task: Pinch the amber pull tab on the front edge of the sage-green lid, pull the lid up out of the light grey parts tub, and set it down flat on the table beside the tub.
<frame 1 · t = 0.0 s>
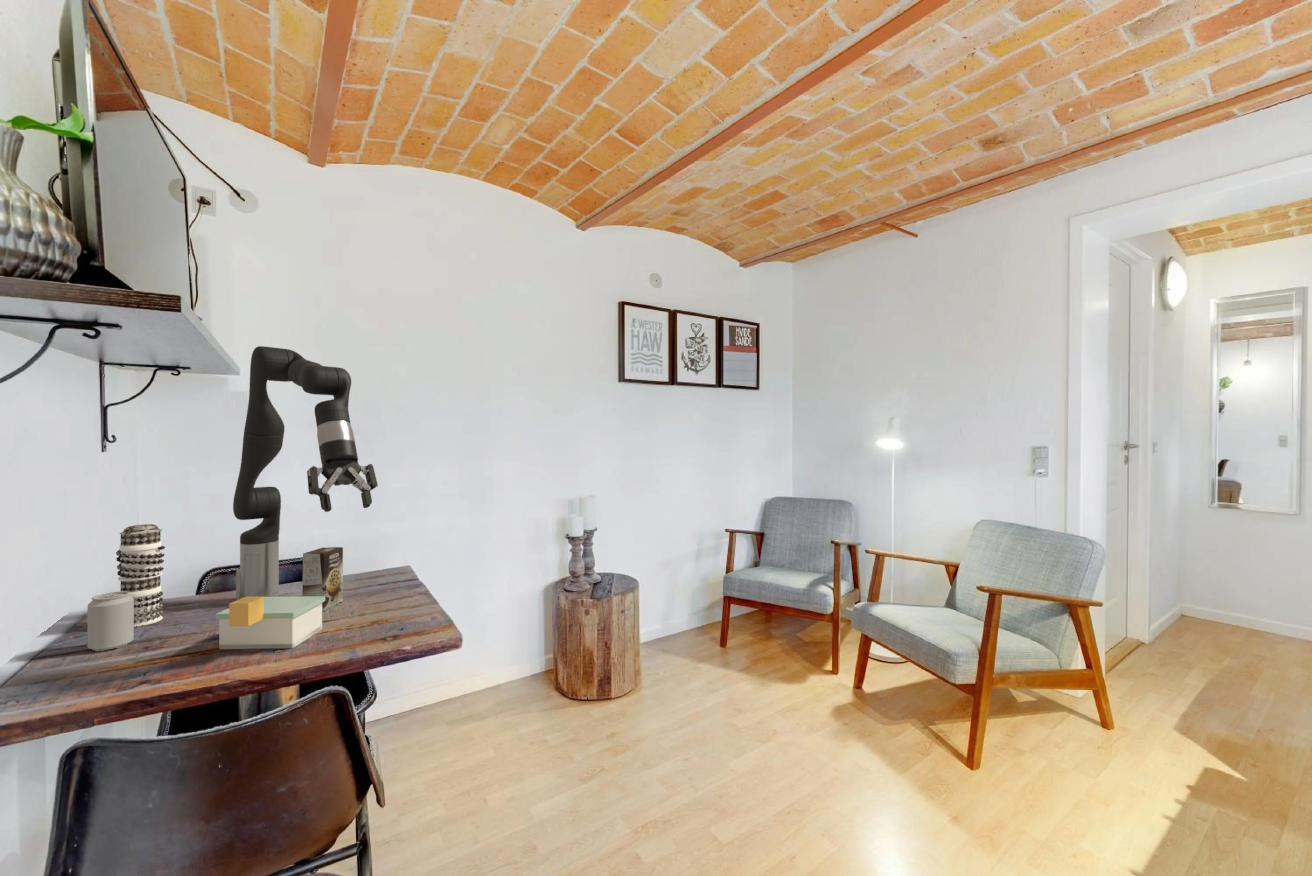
hand: (348, 509, 126), 31 cm above the table, tool tilted 20°, fingers open, 8 cm apart
coffee box: (323, 607, 154), on the table
tub: (273, 639, 129), on the table
can: (111, 647, 124), on the table
decorative candle: (140, 622, 141), on the table
lid: (273, 609, 129), point 7 cm above the table, touching tub
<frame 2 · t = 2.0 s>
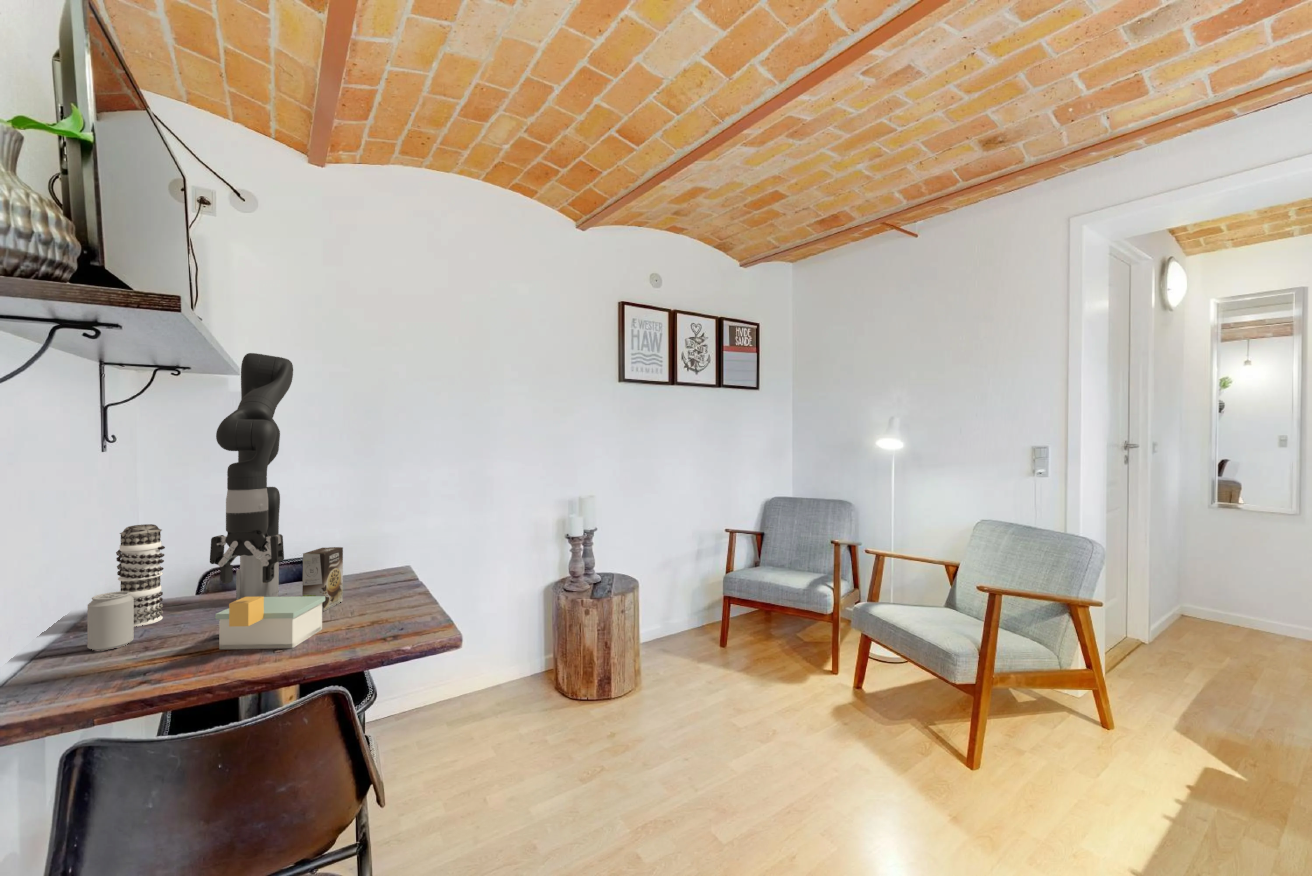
hand: (247, 582, 120), 16 cm above the table, tool pointing down, fingers open, 8 cm apart
nothing on the table moved.
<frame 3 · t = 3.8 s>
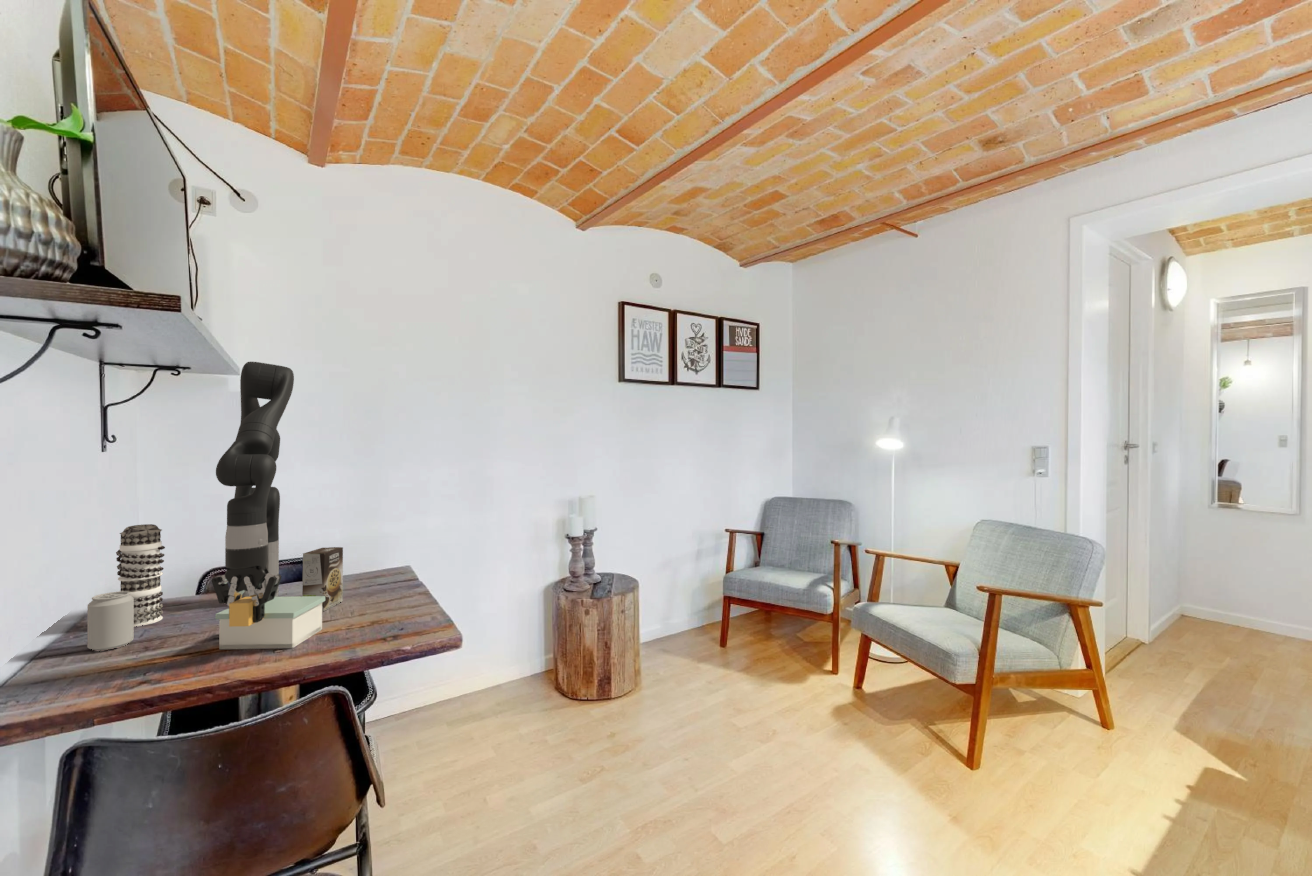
hand: (246, 621, 120), 7 cm above the table, tool pointing down, fingers closed on lid, 4 cm apart
lid: (273, 609, 129), point 7 cm above the table, touching gripper, tub
everything else where it was.
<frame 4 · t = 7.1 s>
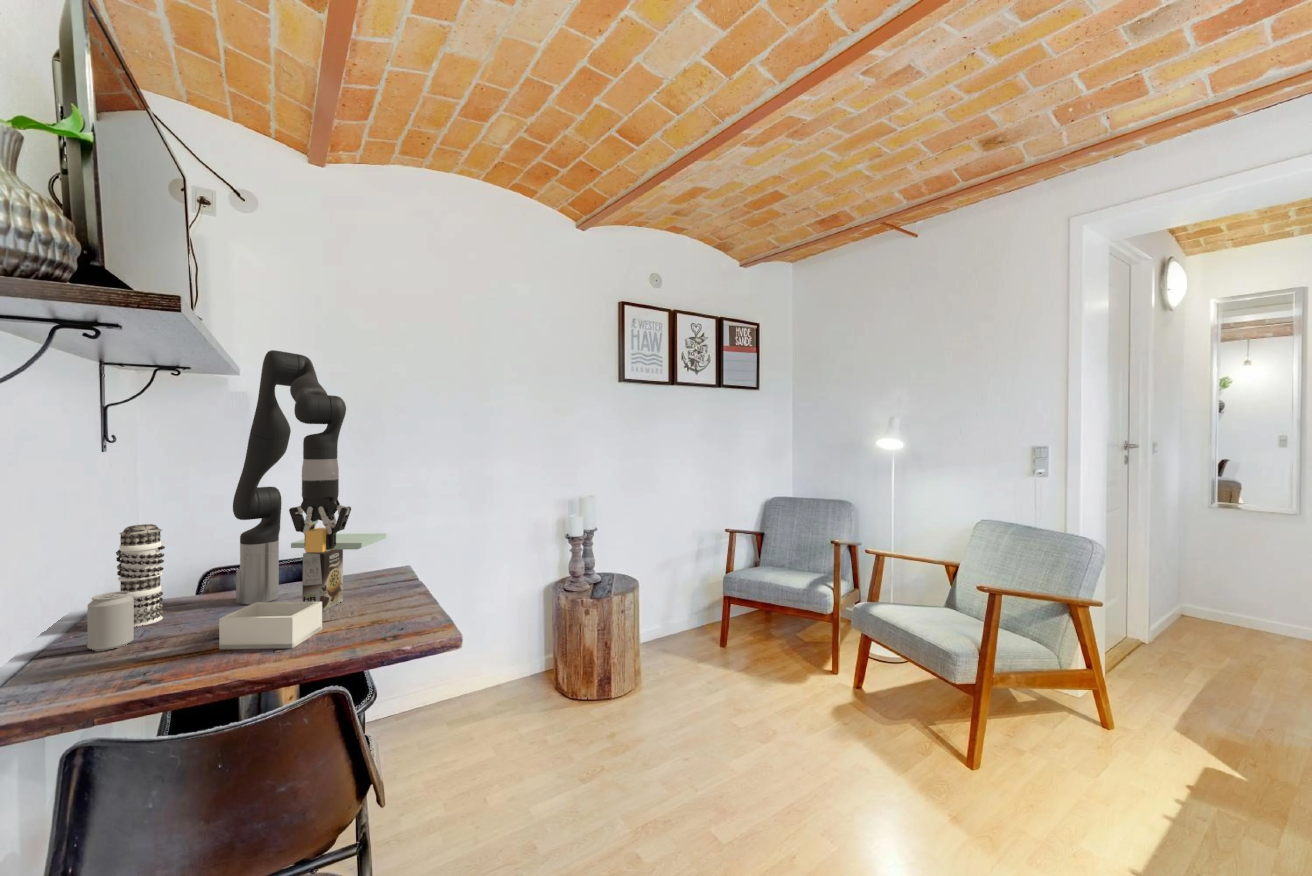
hand: (320, 548, 130), 21 cm above the table, tool pointing down, fingers closed on lid, 4 cm apart
lid: (340, 542, 139), point 21 cm above the table, touching gripper
everything else where it was.
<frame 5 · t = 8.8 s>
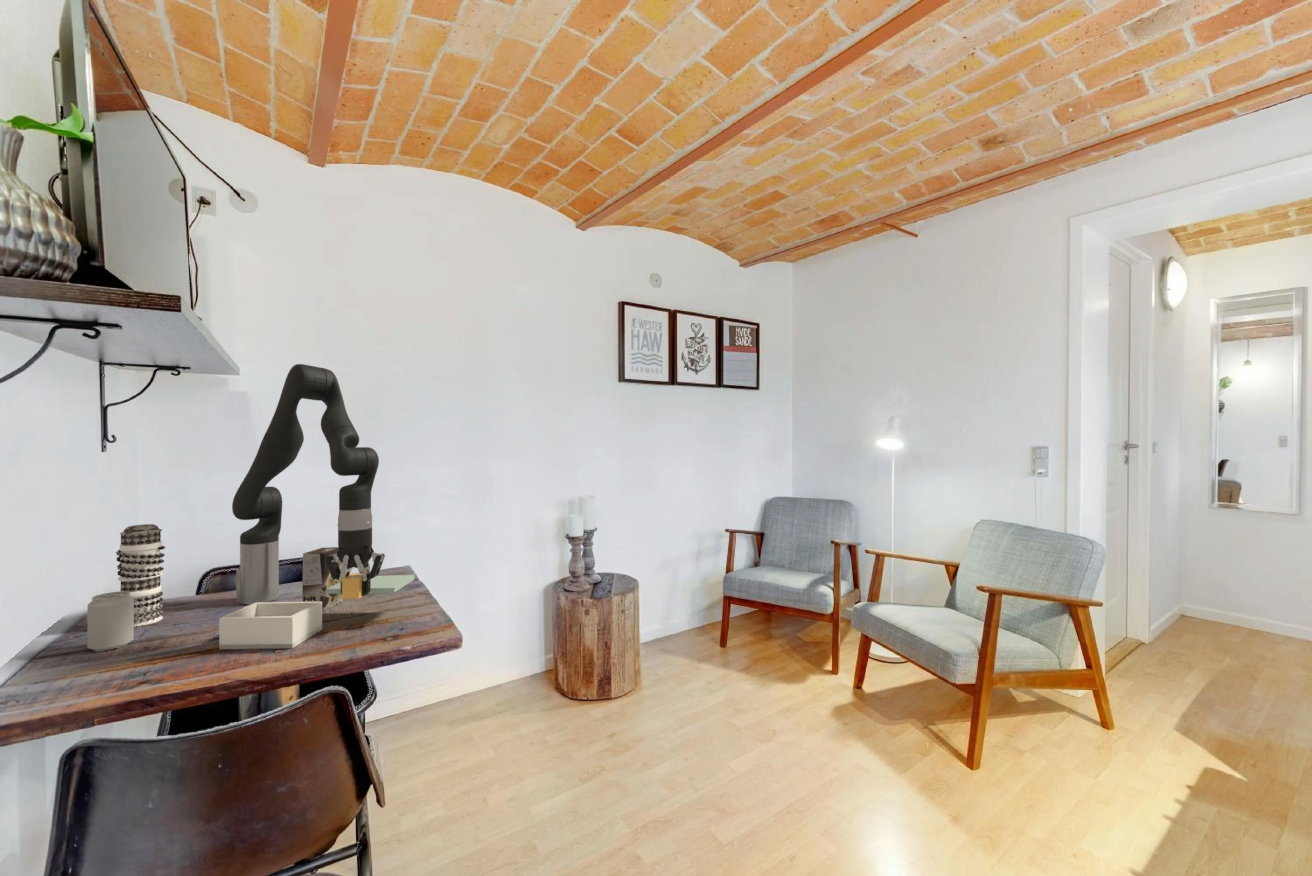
hand: (355, 594, 136), 9 cm above the table, tool pointing down, fingers closed on lid, 4 cm apart
lid: (372, 586, 145), point 8 cm above the table, touching gripper
everything else where it was.
when the fingers open (2 cm above the table, at t = 10.4 s): lid drops 1 cm, point 1 cm above the table.
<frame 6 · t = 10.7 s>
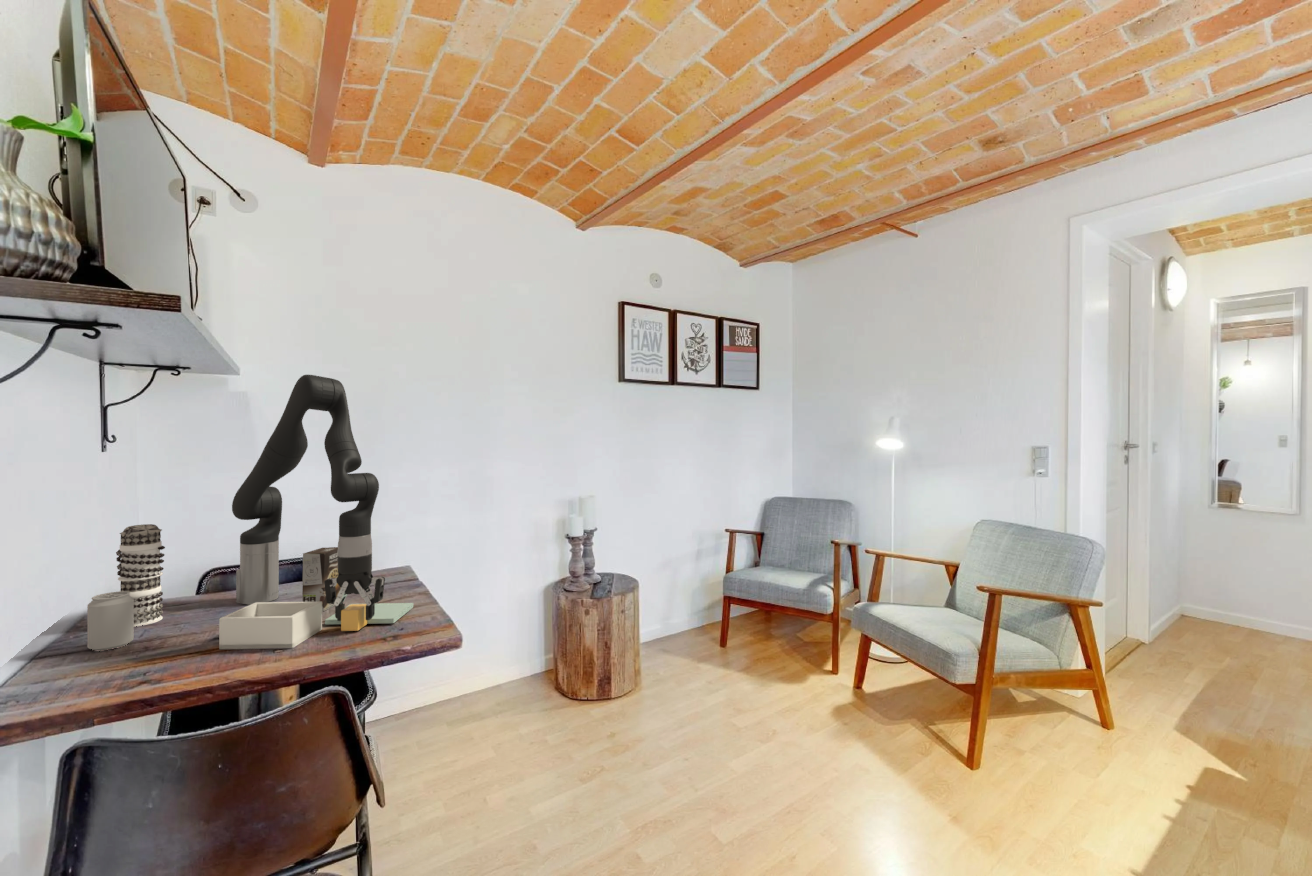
hand: (354, 619, 136), 2 cm above the table, tool pointing down, fingers open, 6 cm apart
lid: (371, 615, 145), point 1 cm above the table
everything else where it was.
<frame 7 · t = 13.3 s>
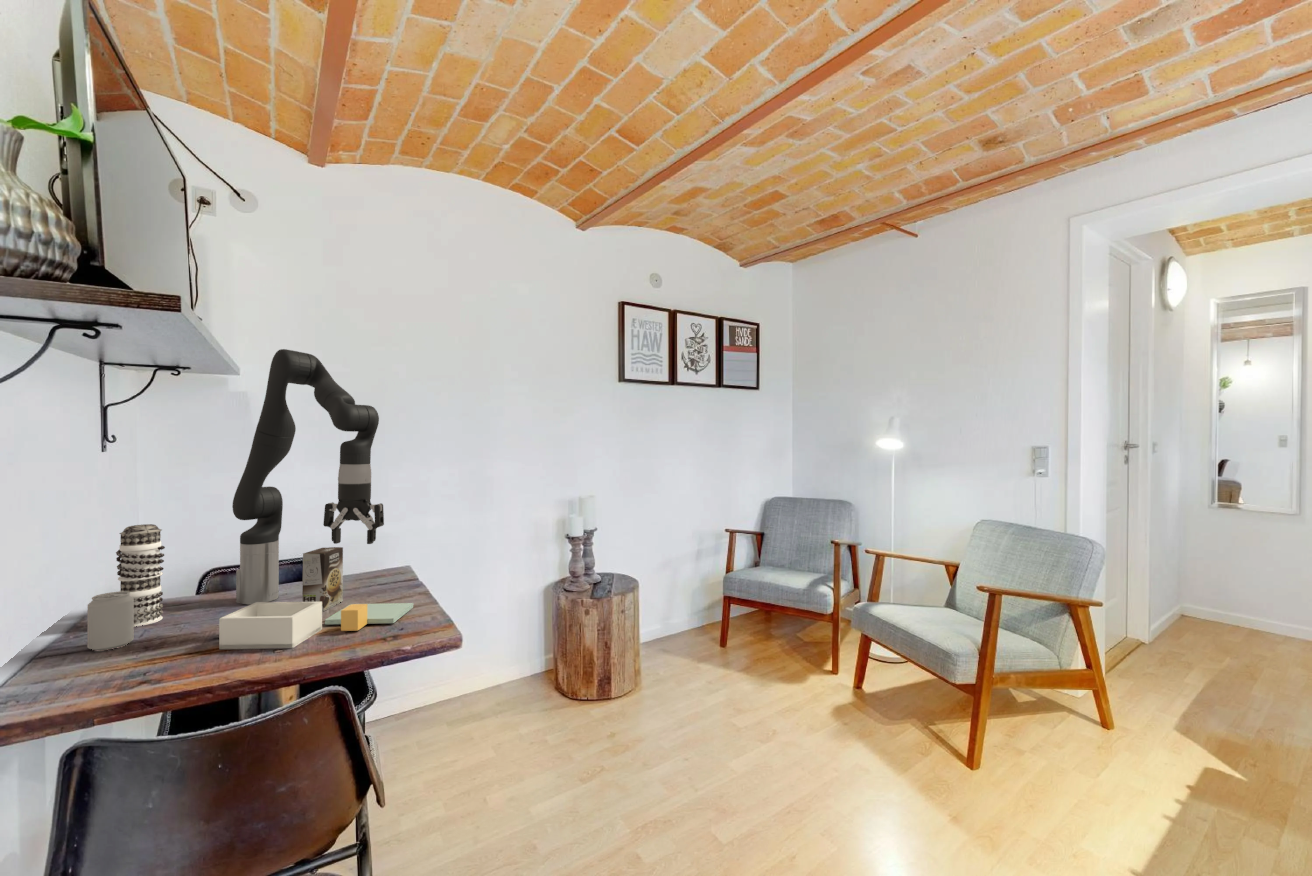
hand: (353, 543, 141), 20 cm above the table, tool pointing down, fingers open, 8 cm apart
nothing on the table moved.
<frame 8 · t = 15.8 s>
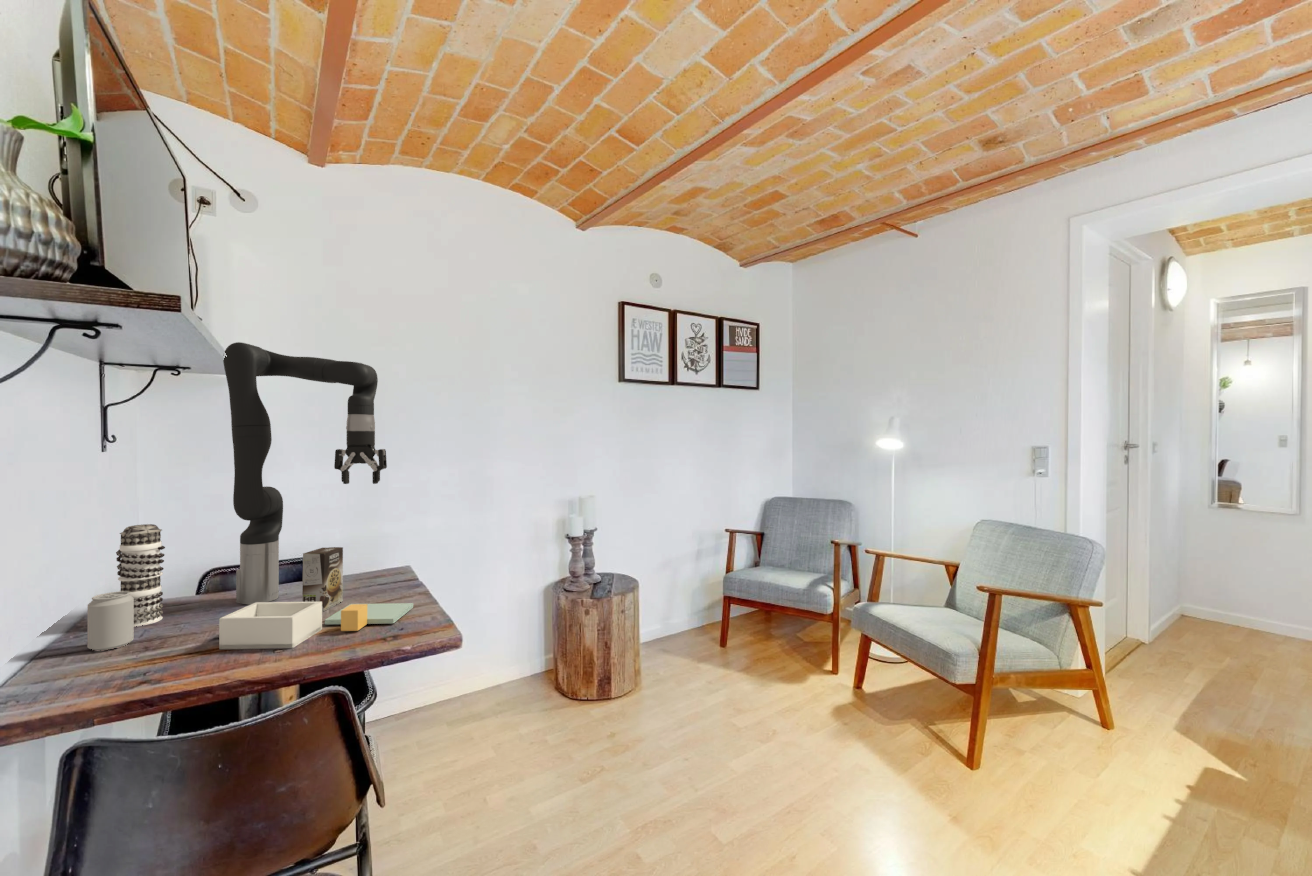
hand: (360, 483, 163), 34 cm above the table, tool pointing down, fingers open, 8 cm apart
nothing on the table moved.
at the end: lid inside the target area (0.3 cm from its centre), point 0.5 cm above the table; lid touching table; the gripper is holding nothing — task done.
